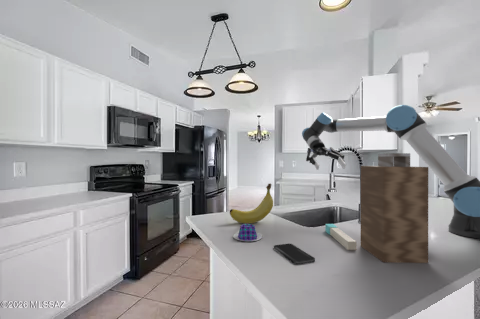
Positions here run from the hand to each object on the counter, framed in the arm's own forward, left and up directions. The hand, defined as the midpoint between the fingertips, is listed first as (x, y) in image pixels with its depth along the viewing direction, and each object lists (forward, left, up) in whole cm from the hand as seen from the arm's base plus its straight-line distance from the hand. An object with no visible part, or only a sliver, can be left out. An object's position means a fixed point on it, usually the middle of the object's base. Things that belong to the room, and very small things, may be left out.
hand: (331, 167), depth 115 cm
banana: (+39, -4, -29) cm, 49 cm away
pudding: (+42, +18, -29) cm, 54 cm away
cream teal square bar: (+5, +20, -29) cm, 36 cm away
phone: (+27, +35, -29) cm, 53 cm away
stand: (-7, +34, -29) cm, 46 cm away
